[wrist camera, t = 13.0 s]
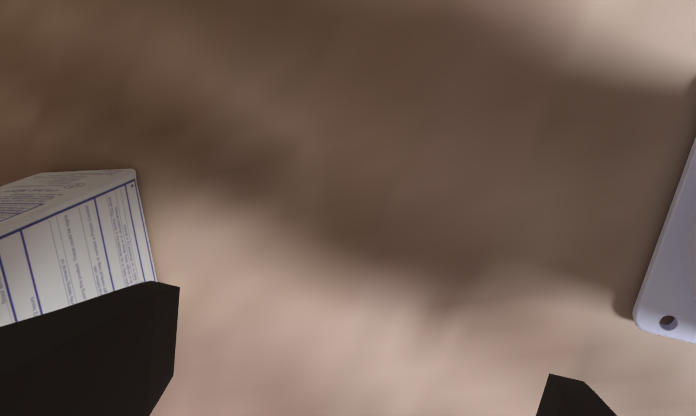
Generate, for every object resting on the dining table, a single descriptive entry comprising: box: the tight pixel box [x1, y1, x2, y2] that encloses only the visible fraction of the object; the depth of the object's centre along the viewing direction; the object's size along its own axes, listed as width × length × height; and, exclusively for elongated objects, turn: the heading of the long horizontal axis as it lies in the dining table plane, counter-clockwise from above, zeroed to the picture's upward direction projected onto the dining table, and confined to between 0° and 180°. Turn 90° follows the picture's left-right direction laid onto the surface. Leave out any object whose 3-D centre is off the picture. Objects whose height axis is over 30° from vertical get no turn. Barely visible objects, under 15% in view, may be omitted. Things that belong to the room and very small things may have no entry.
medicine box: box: [0, 169, 157, 327], centre depth 19 cm, size 8×4×9 cm, turn 6°
